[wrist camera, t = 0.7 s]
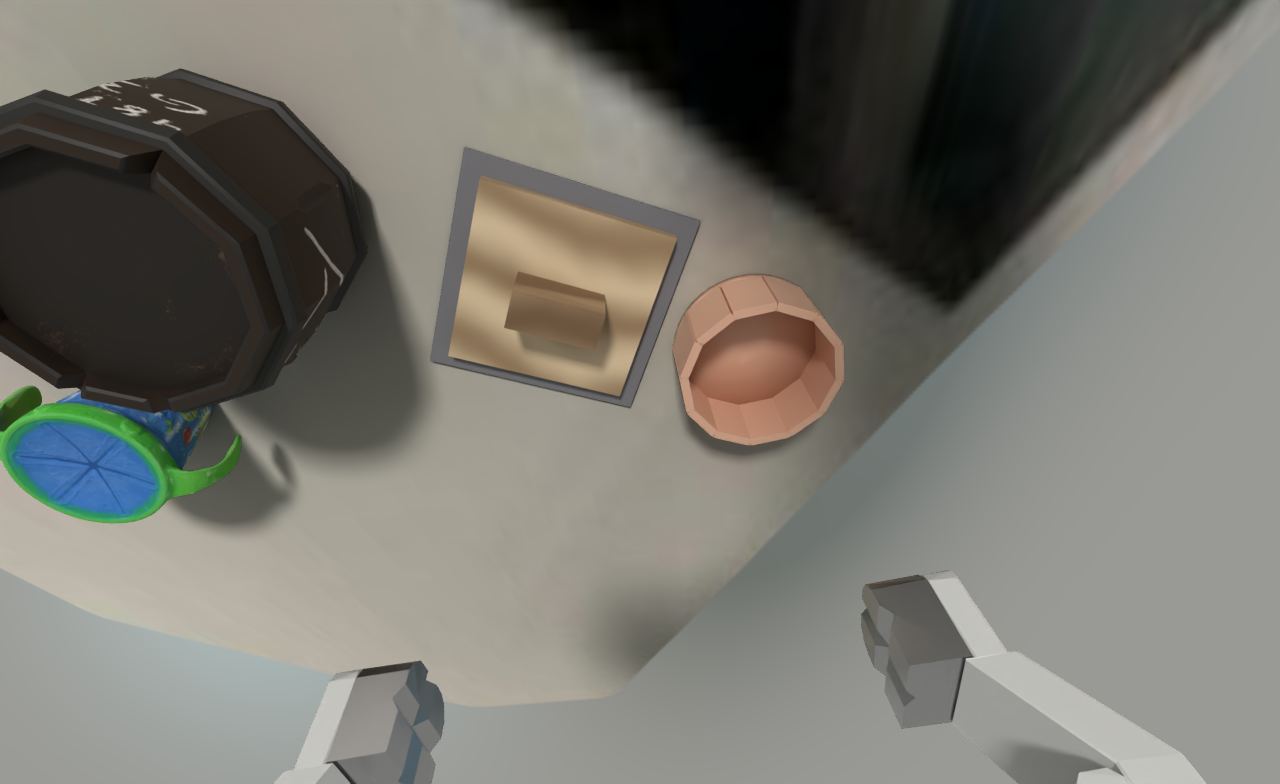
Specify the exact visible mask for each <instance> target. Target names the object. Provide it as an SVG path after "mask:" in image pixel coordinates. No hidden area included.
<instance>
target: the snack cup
mask: <svg viewBox="0 0 1280 784" xmlns="http://www.w3.org/2000/svg"><path fill="white" fill-rule="evenodd" d="M41 403H42V396H41V393H40V391H39V389H38V388H36V387H35V386H27V387H24V388H21V389H19V390H17V391H16V392H14V393H13V394H11V395H10V396H9V397H8V398H6V399H5V400H4V401H3V402H2V403H1V404H0V459H1V460H2V461H3V464H4V466H5V468H6V469H7V471H8V473H9V474H10V476H11V477H12V478H13V480H14V481H15V482H16V483H17V484H18V485H19V486H20V487H21V488H22V489H23V490H25V491H26V492H27V493H28V494H30V495H31V496H32V497H34V498H35V499H37V500H39V501H40V502H42V503H43V504H45V505H47V506H49V507H51V508H53V509H55V510H57V511H60V512H62V513H64V514H67V515H70V516H73V517H76V518H79V519H83V520H88V521H93V522H101V523H127V522H133V521H137V520H141V519H144V518H146V517H148V516H150V515H152V514H154V513H155V512H156V511H157V510H159V509H160V508H161V507H162V506H163V505H164V504H165V503H166V501H167V500H169V499H171V498H175V497H179V496H184V495H188V494H193V493H195V492H197V491H199V490H202V489H205V488H207V487H209V486H211V485H212V484H214V483H215V482H217V481H219V480H220V479H222V478H223V477H224V476H226V475H227V474H228V473H229V472H230V471H231V470H232V469H233V468H234V467H235V466H236V464H237V462H238V459H239V456H240V451H241V436H240V435H237V436H236V438H235V440H234V443H233V444H232V446H231V447H230V449H229V450H228V452H227V453H226V457H225V458H224V459H223V460H222V461H221V462H220V463H218V464H217V465H215V466H212V467H207V468H203V469H199V470H194V471H183V470H182V469H183V466H184V464H185V463H186V461H187V458H188V456H189V455H190V454H191V453H192V451H193V449H194V447H195V446H196V444H197V442H198V440H199V439H200V437H201V435H202V434H203V432H204V430H205V429H206V427H207V425H208V423H209V420H210V416H211V413H212V406H209V407H205V408H202V409H199V410H196V411H192V412H189V413H181V412H177V413H174V412H173V411H172V410H165V411H161V412H158V413H149V412H144V411H139V410H135V409H130V408H125V407H120V406H115V405H111V404H106V403H101V402H96V401H91V400H87V399H82V398H81V390H80V391H78V392H75V393H73V394H71V395H69V396H67V397H65V398H63V399H61V400H59V401H58V402H56V403H51V404H45V405H42V406H40V405H41ZM5 430H6V431H5Z"/></svg>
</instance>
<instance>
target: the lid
mask: <svg viewBox="0 0 1280 784" xmlns="http://www.w3.org/2000/svg"><path fill="white" fill-rule="evenodd" d="M676 240H677V237H676V235H675V234H672V233H669V232H665V231H662V230H659V229H655V228H652V227H649V226H646V225H642V224H639V223H636V222H633V221H629V220H626V219H623V218H619V217H616V216H613V215H610V214H606V213H603V212H600V211H596V210H593V209H590V208H587V207H583V206H580V205H577V204H573V203H570V202H567V201H564V200H560V199H557V198H554V197H550V196H547V195H544V194H541V193H537V192H534V191H531V190H528V189H524V188H521V187H518V186H514V185H511V184H508V183H505V182H501V181H498V180H495V179H491V178H488V177H485V176H481V177H480V179H479V185H478V190H477V196H476V202H475V207H474V213H473V218H472V224H471V230H470V235H469V241H468V247H467V252H466V258H465V264H464V269H463V275H462V281H461V286H460V292H459V298H458V303H457V309H456V315H455V320H454V326H453V332H452V337H451V343H450V349H449V354H448V356H450V357H454V358H459V359H463V360H467V361H471V362H476V363H480V364H484V365H488V366H493V367H497V368H501V369H505V370H510V371H514V372H518V373H522V374H527V375H531V376H535V377H539V378H544V379H548V380H552V381H556V382H561V383H565V384H569V385H573V386H578V387H582V388H586V389H590V390H595V391H599V392H603V393H607V394H612V395H616V396H620V394H621V391H622V389H623V386H624V383H625V380H626V378H627V375H628V372H629V369H630V367H631V364H632V361H633V358H634V356H635V353H636V350H637V348H638V345H639V342H640V339H641V337H642V334H643V331H644V328H645V326H646V323H647V320H648V317H649V315H650V312H651V309H652V306H653V304H654V301H655V298H656V295H657V293H658V290H659V287H660V284H661V282H662V279H663V276H664V273H665V271H666V268H667V265H668V262H669V260H670V257H671V254H672V251H673V249H674V246H675V243H676Z"/></svg>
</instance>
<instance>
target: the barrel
mask: <svg viewBox="0 0 1280 784" xmlns="http://www.w3.org/2000/svg"><path fill="white" fill-rule="evenodd" d="M366 254H367V244H366V240H365V236H364V232H363V227H362V223H361V219H360V214H359V210H358V206H357V202H356V197H355V193H354V189H353V184H352V180H351V176H350V172H349V171H348V170H347V169H346V168H345V167H344V166H343V165H342V164H341V163H340V162H339V161H338V160H337V159H336V158H335V157H334V155H333V154H332V153H331V152H330V151H329V150H328V149H327V148H326V147H325V146H324V145H323V144H322V143H321V142H320V141H319V140H318V139H317V138H316V136H315V135H314V134H313V133H312V132H311V131H310V130H309V129H308V128H307V127H306V126H305V125H304V124H303V123H302V122H301V121H300V120H299V119H298V118H297V116H296V115H295V114H294V113H293V112H292V111H291V110H290V109H289V108H288V107H287V106H286V105H285V104H284V103H283V102H281V101H278V100H275V99H272V98H269V97H266V96H263V95H260V94H257V93H254V92H251V91H248V90H245V89H242V88H239V87H236V86H233V85H230V84H227V83H224V82H221V81H218V80H215V79H212V78H209V77H206V76H203V75H200V74H196V73H193V72H190V71H187V70H184V69H181V68H180V69H178V70H175V71H172V72H170V73H167V74H164V75H162V76H159V77H156V78H146V77H144V78H138V79H132V80H126V81H120V82H113V83H107V84H102V85H99V86H97V87H94V88H91V89H89V90H86V91H83V92H80V93H78V94H75V95H72V96H70V97H68V96H64V95H61V94H58V93H55V92H51V91H48V90H42V91H40V92H37V93H34V94H32V95H29V96H27V97H24V98H21V99H19V100H16V101H14V102H11V103H8V104H6V105H3V106H1V107H0V352H2V353H4V354H5V355H7V356H8V357H10V358H11V359H13V360H14V361H16V362H18V363H19V364H21V365H22V366H24V367H25V368H27V369H28V370H30V371H31V372H33V373H35V374H36V375H38V376H39V377H41V378H42V379H44V380H45V381H47V382H49V383H50V384H52V385H53V386H55V387H56V388H58V389H61V388H78V389H80V390H81V398H82V399H87V400H91V401H96V402H101V403H106V404H111V405H115V406H120V407H125V408H130V409H135V410H139V411H144V412H149V413H158V412H161V411H165V410H172V411H173V412H174V413H177V412H181V413H189V412H192V411H196V410H199V409H202V408H205V407H209V406H212V405H215V404H218V403H221V402H225V401H228V400H231V399H234V398H238V397H241V396H244V395H247V394H251V393H254V392H257V391H260V390H264V389H266V388H268V387H270V386H272V385H273V384H274V383H275V381H276V379H277V377H278V375H279V373H280V371H281V369H282V367H283V366H285V365H288V364H290V363H292V362H293V361H294V359H295V358H296V357H297V355H296V353H297V352H298V351H299V350H300V349H301V348H302V346H303V345H304V344H305V343H306V342H307V341H308V339H309V338H310V337H311V336H312V335H313V334H314V332H315V331H316V330H317V328H318V326H319V325H320V323H321V321H322V319H323V317H324V316H325V314H326V313H328V312H331V311H334V310H337V308H338V306H339V304H340V302H341V301H342V299H343V297H344V295H345V293H346V291H347V289H348V288H349V286H350V284H351V282H352V280H353V278H354V276H355V275H356V273H357V271H358V269H359V267H360V265H361V263H362V262H363V260H364V258H365V256H366Z"/></svg>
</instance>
